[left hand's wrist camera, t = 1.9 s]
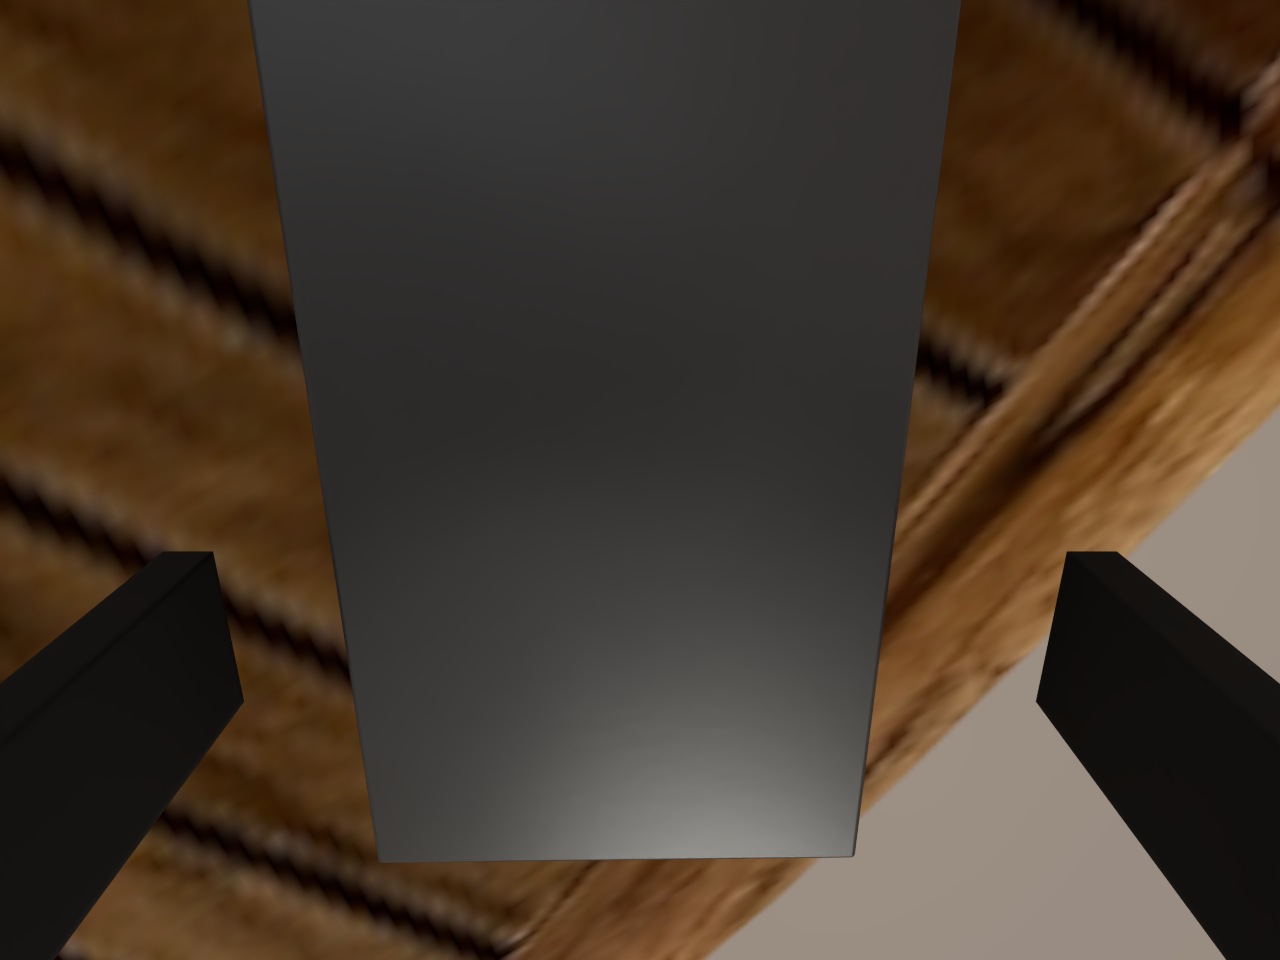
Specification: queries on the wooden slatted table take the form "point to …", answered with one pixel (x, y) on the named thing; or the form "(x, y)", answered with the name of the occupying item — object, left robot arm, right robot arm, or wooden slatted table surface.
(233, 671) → the left robot arm
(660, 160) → the box
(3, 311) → the wooden slatted table surface
